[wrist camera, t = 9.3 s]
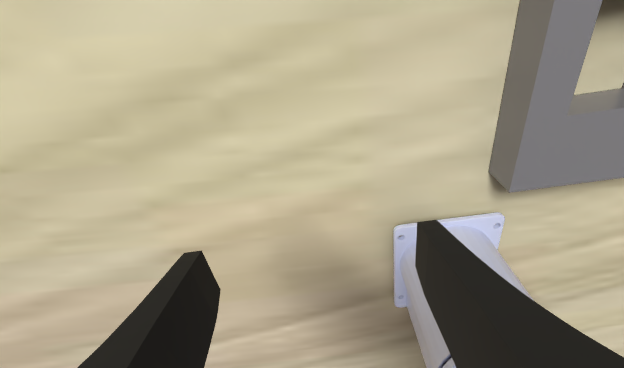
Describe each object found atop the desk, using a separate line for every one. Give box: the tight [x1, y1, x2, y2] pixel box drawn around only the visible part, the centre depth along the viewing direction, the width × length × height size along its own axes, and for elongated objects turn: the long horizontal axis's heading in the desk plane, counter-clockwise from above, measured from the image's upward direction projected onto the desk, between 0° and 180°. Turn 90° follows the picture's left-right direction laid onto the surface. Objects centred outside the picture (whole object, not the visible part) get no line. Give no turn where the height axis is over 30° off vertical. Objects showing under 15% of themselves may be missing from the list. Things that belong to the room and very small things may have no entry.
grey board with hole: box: [489, 0, 624, 193], centre depth 16 cm, size 15×9×2 cm, turn 8°
